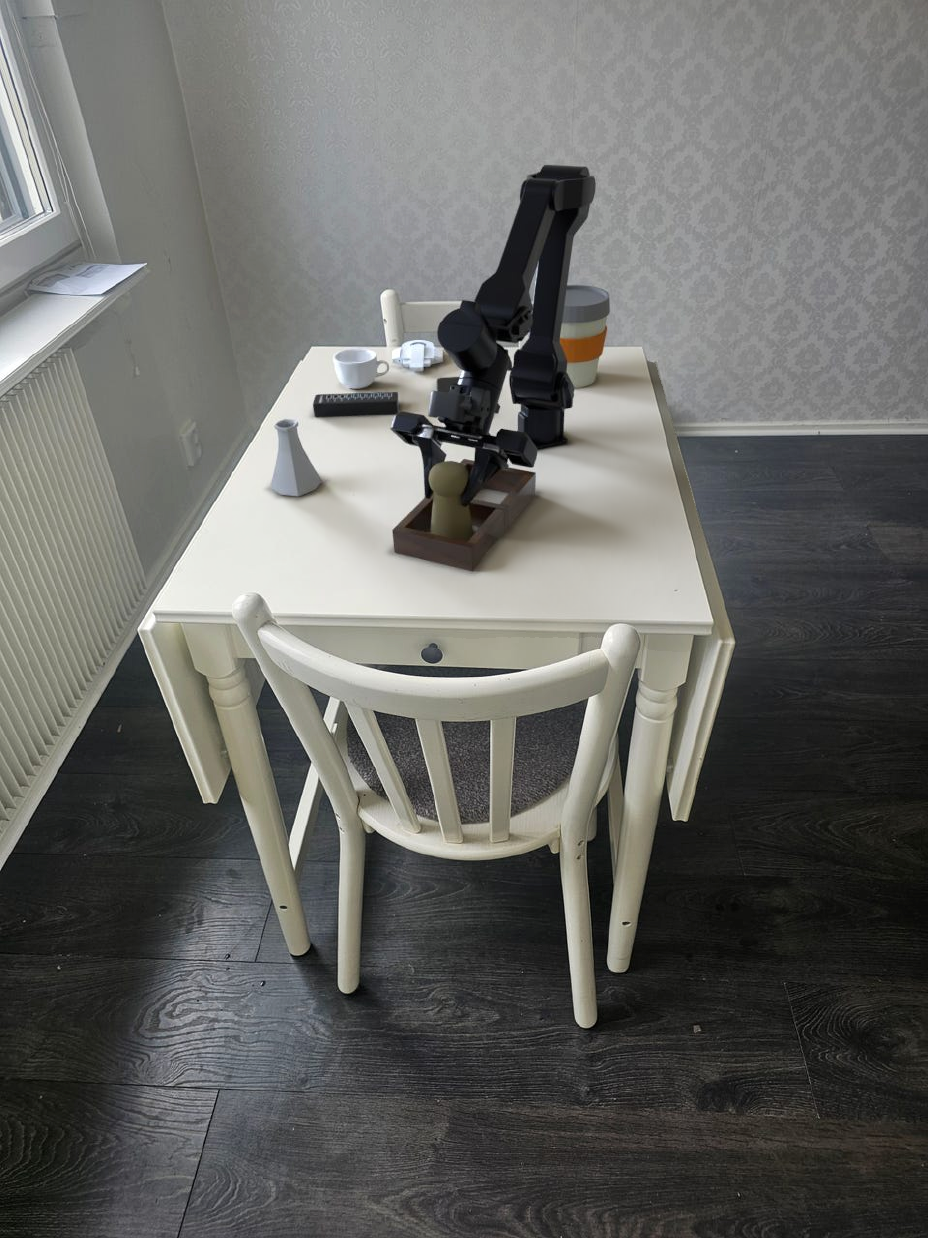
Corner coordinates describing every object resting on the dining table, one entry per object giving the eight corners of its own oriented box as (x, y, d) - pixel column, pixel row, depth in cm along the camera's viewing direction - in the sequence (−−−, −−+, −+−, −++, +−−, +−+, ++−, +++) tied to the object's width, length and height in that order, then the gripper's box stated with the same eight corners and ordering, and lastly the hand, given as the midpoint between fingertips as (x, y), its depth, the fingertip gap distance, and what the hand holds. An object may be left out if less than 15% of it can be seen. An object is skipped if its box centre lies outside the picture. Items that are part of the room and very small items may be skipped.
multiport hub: (397, 414, 147) (396, 401, 146) (314, 416, 147) (312, 404, 146) (399, 403, 151) (398, 391, 149) (317, 406, 151) (315, 393, 149)
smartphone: (481, 413, 146) (476, 379, 158) (481, 409, 146) (476, 375, 157) (438, 416, 146) (436, 381, 158) (438, 411, 145) (436, 377, 157)
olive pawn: (469, 554, 112) (467, 478, 105) (424, 550, 113) (419, 475, 106) (478, 530, 116) (476, 456, 110) (435, 526, 117) (430, 453, 111)
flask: (299, 502, 124) (288, 438, 118) (262, 490, 127) (249, 427, 121) (330, 481, 129) (322, 419, 123) (294, 470, 132) (283, 409, 126)
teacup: (333, 392, 156) (329, 363, 152) (341, 376, 162) (337, 348, 158) (387, 392, 155) (384, 363, 152) (393, 376, 161) (391, 348, 158)
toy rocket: (442, 373, 161) (442, 361, 160) (391, 375, 161) (390, 363, 160) (443, 343, 174) (442, 332, 172) (395, 345, 174) (394, 334, 173)
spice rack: (464, 479, 128) (463, 458, 126) (535, 493, 124) (536, 472, 122) (394, 552, 112) (392, 529, 110) (472, 571, 108) (471, 548, 106)
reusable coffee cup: (608, 367, 161) (614, 285, 152) (601, 393, 151) (607, 308, 142) (542, 363, 163) (544, 283, 154) (531, 389, 154) (532, 305, 145)
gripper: (391, 350, 106) (354, 468, 105) (530, 370, 100) (493, 496, 99) (424, 387, 117) (391, 495, 116) (552, 408, 110) (518, 522, 109)
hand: (445, 501), depth 109 cm, fingers closed on olive pawn, 5 cm apart
